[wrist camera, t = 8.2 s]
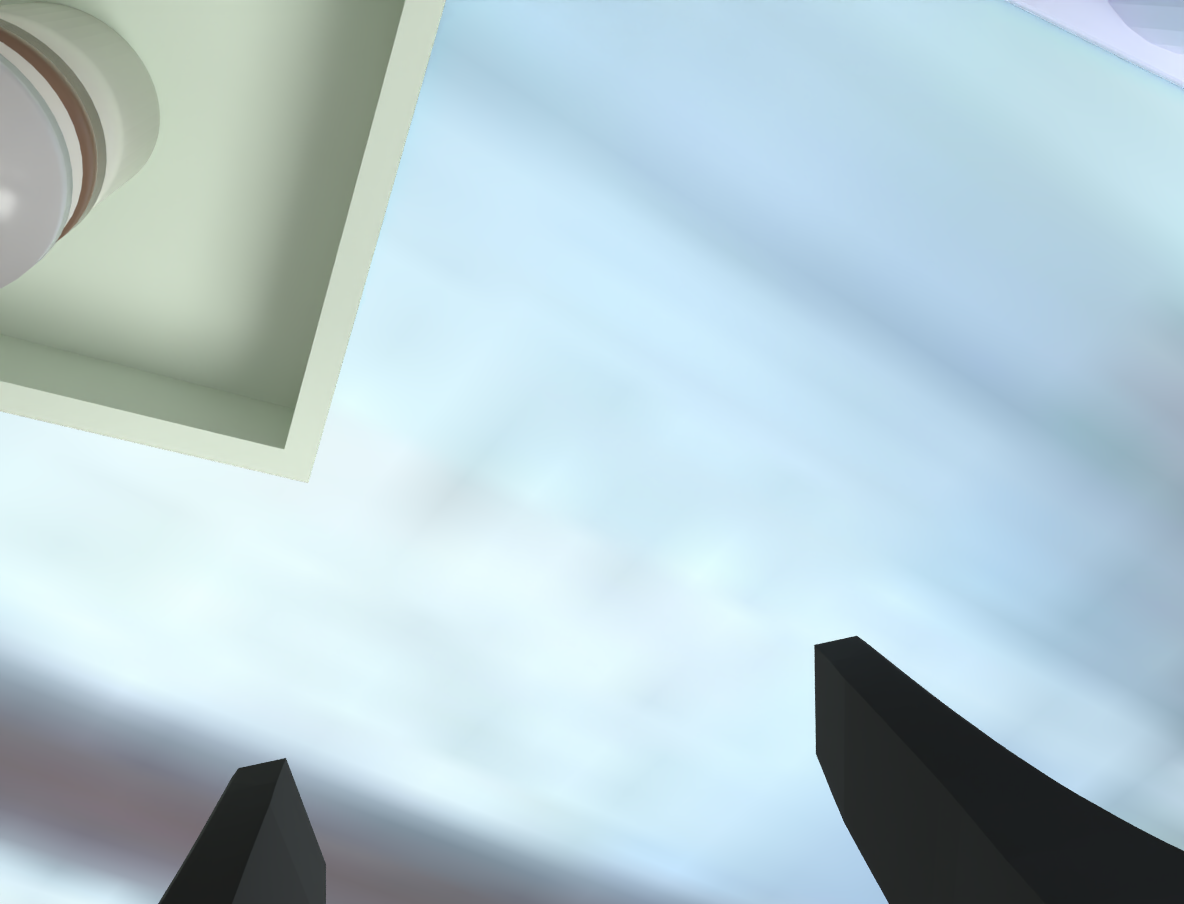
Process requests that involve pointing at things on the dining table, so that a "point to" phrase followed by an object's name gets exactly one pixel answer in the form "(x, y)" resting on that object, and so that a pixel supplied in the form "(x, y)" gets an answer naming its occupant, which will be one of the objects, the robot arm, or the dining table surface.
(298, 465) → the parts tray
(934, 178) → the dining table surface
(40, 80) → the cylinder
